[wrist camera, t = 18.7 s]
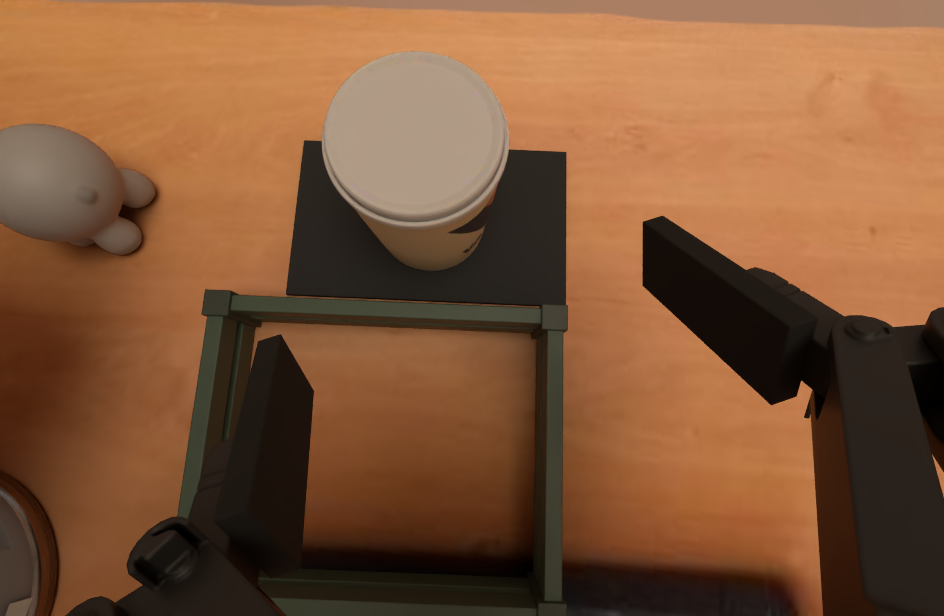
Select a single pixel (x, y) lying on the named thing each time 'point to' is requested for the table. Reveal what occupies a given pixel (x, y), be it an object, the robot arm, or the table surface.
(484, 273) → the mat
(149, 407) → the table surface
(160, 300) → the table surface
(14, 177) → the round bodied animal figurine
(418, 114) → the coffee cup
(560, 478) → the frame
